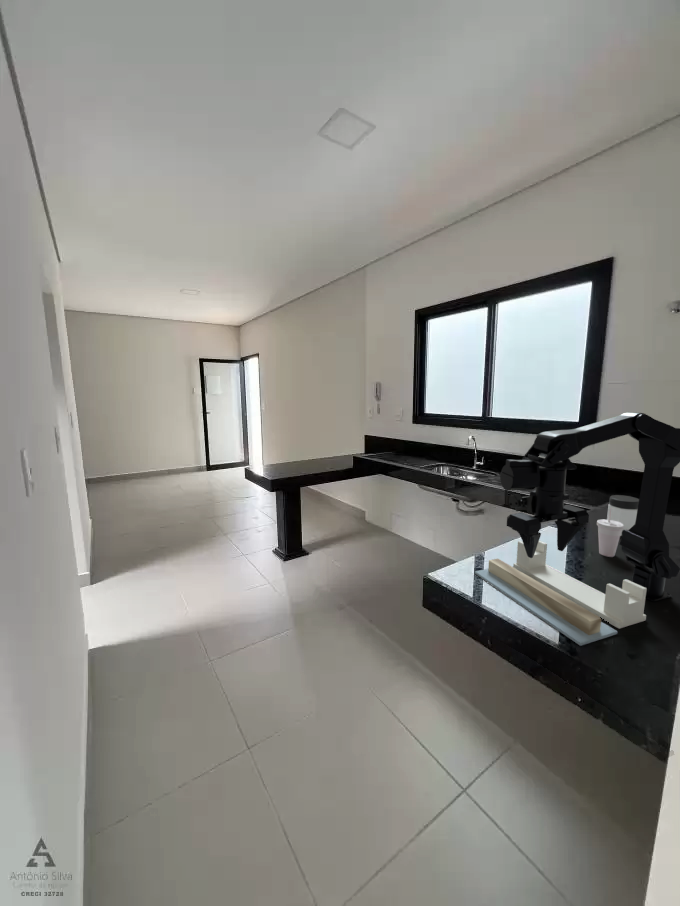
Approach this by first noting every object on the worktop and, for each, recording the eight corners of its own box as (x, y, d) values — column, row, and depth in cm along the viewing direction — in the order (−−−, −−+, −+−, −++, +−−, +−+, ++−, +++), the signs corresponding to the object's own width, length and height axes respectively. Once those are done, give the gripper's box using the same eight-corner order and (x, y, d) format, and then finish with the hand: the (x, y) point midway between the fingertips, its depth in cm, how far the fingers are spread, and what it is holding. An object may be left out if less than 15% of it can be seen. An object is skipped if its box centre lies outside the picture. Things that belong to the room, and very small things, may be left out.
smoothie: (609, 549, 111) (614, 505, 109) (626, 558, 105) (631, 511, 102) (588, 549, 111) (593, 505, 109) (604, 559, 104) (609, 512, 102)
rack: (535, 562, 103) (537, 537, 102) (645, 620, 77) (650, 587, 76) (513, 567, 100) (515, 541, 99) (619, 628, 74) (623, 594, 73)
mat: (504, 567, 101) (504, 565, 101) (617, 633, 73) (617, 631, 73) (474, 573, 97) (474, 571, 97) (580, 645, 69) (580, 642, 69)
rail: (497, 568, 99) (497, 558, 98) (599, 631, 72) (601, 618, 72) (488, 570, 98) (488, 560, 97) (589, 635, 71) (590, 621, 71)
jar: (609, 525, 130) (613, 493, 128) (638, 532, 124) (642, 498, 122) (603, 532, 124) (606, 498, 122) (633, 539, 118) (637, 503, 116)
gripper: (550, 476, 92) (546, 535, 95) (490, 484, 86) (487, 547, 89) (593, 487, 82) (587, 552, 84) (528, 497, 76) (524, 567, 78)
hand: (545, 553), depth 84 cm, fingers open, 9 cm apart
